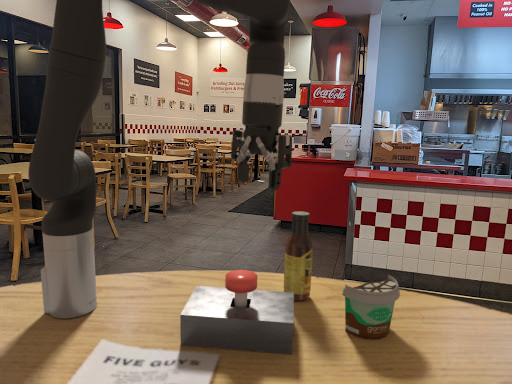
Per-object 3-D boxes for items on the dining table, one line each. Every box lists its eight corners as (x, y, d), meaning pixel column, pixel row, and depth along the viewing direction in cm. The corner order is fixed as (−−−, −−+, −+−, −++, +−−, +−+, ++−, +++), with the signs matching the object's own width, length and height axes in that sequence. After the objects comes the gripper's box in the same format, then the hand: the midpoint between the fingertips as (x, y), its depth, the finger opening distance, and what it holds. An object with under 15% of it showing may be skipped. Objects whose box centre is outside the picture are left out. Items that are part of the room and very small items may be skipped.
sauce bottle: (309, 304, 87) (314, 218, 83) (281, 300, 88) (285, 215, 84) (311, 291, 93) (315, 211, 89) (285, 288, 94) (288, 209, 91)
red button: (222, 316, 71) (222, 281, 70) (227, 301, 77) (228, 268, 76) (254, 319, 71) (255, 283, 70) (257, 303, 77) (258, 270, 75)
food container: (361, 350, 70) (366, 298, 68) (339, 333, 75) (343, 284, 74) (409, 334, 76) (415, 286, 74) (385, 319, 81) (390, 274, 79)
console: (180, 345, 70) (180, 314, 69) (196, 312, 82) (196, 285, 80) (292, 354, 68) (293, 323, 67) (292, 319, 80) (293, 292, 79)
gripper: (223, 98, 75) (220, 181, 79) (277, 100, 65) (270, 194, 69) (251, 101, 81) (247, 178, 84) (305, 103, 71) (298, 190, 74)
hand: (257, 185), depth 76 cm, fingers open, 8 cm apart
